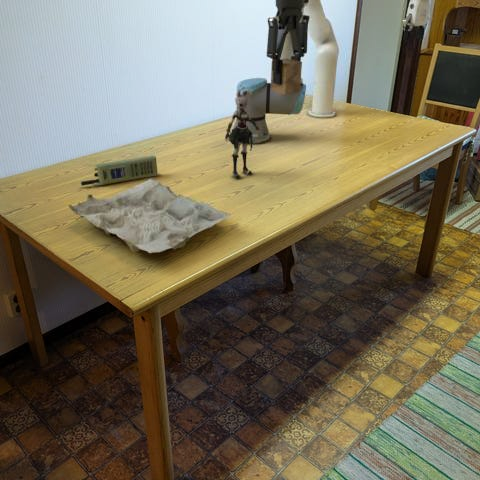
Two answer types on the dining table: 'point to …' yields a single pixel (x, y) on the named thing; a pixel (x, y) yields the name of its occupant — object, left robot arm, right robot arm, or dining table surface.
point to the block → (288, 77)
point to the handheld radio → (124, 170)
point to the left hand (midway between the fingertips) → (285, 81)
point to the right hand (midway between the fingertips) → (412, 39)
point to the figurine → (241, 131)
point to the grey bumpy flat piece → (149, 216)
